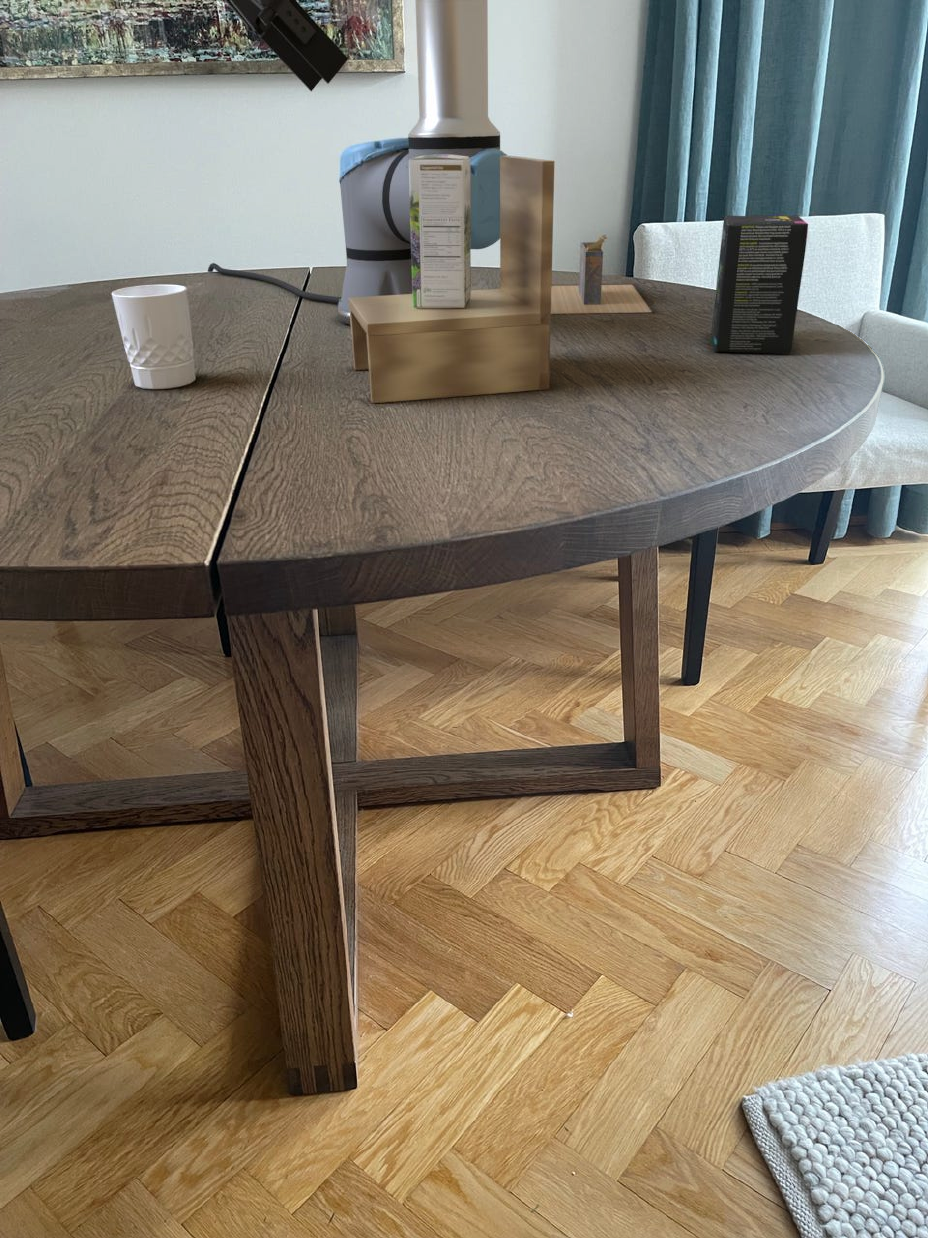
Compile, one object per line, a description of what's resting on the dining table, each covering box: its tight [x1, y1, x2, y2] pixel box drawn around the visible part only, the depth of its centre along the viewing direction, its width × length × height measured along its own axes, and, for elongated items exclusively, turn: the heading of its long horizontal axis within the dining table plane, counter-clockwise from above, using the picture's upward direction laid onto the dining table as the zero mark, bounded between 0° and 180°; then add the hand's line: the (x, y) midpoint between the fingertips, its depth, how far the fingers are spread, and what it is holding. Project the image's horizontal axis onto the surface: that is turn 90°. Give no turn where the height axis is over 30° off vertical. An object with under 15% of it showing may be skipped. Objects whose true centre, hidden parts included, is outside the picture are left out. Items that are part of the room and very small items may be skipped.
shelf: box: [349, 155, 555, 404], centre depth 99 cm, size 19×16×22 cm
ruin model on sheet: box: [551, 234, 653, 315], centre depth 145 cm, size 25×16×10 cm, turn 178°
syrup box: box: [409, 154, 472, 308], centre depth 97 cm, size 6×6×14 cm
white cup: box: [111, 284, 196, 390], centre depth 103 cm, size 8×8×10 cm
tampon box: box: [710, 214, 809, 354], centre depth 113 cm, size 11×9×15 cm
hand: (328, 76), depth 89 cm, fingers open, 13 cm apart
